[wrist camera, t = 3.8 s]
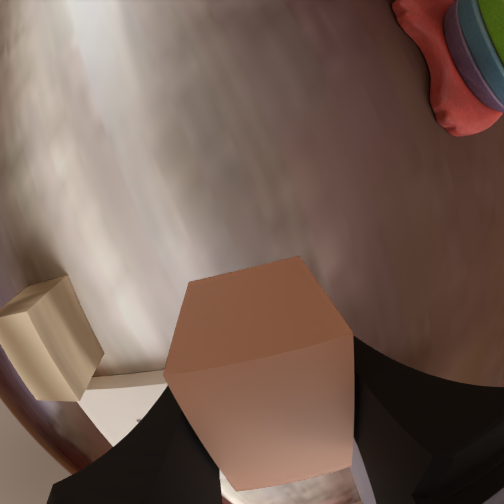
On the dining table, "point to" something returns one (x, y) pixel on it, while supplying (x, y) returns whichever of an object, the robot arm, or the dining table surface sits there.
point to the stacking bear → (460, 58)
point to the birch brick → (50, 340)
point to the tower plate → (122, 402)
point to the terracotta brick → (265, 374)
